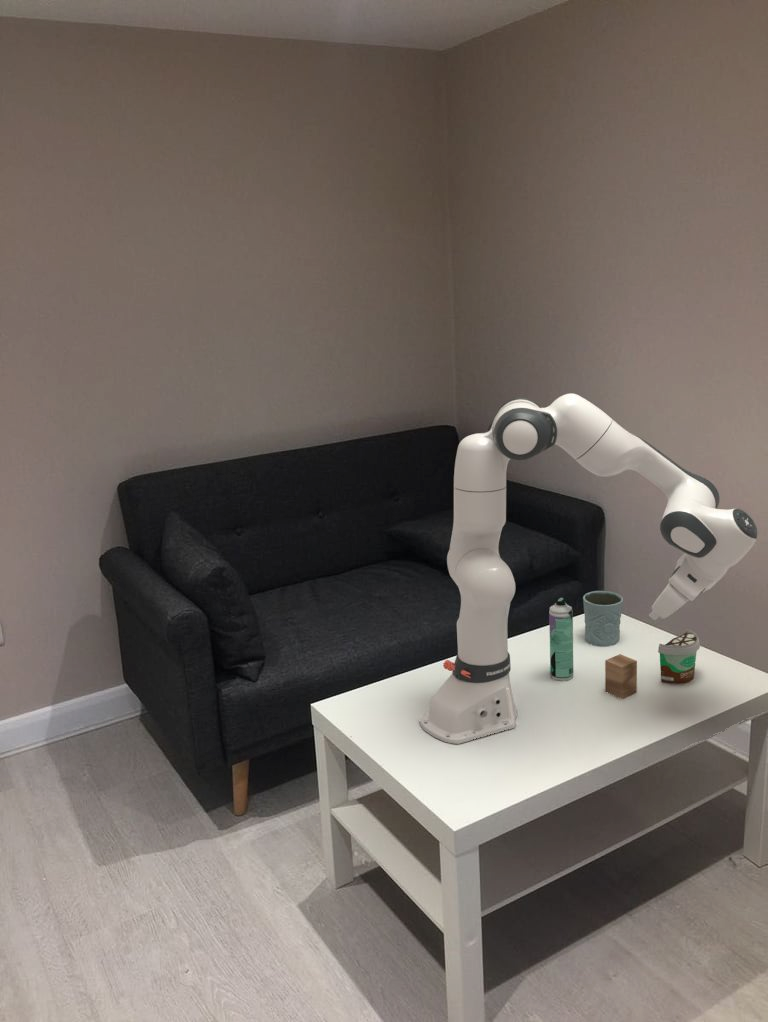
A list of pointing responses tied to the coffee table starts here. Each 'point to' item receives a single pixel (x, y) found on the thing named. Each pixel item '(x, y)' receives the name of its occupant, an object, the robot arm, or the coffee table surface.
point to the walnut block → (621, 676)
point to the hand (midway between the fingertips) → (661, 606)
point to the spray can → (561, 641)
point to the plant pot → (602, 617)
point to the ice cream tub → (679, 658)
